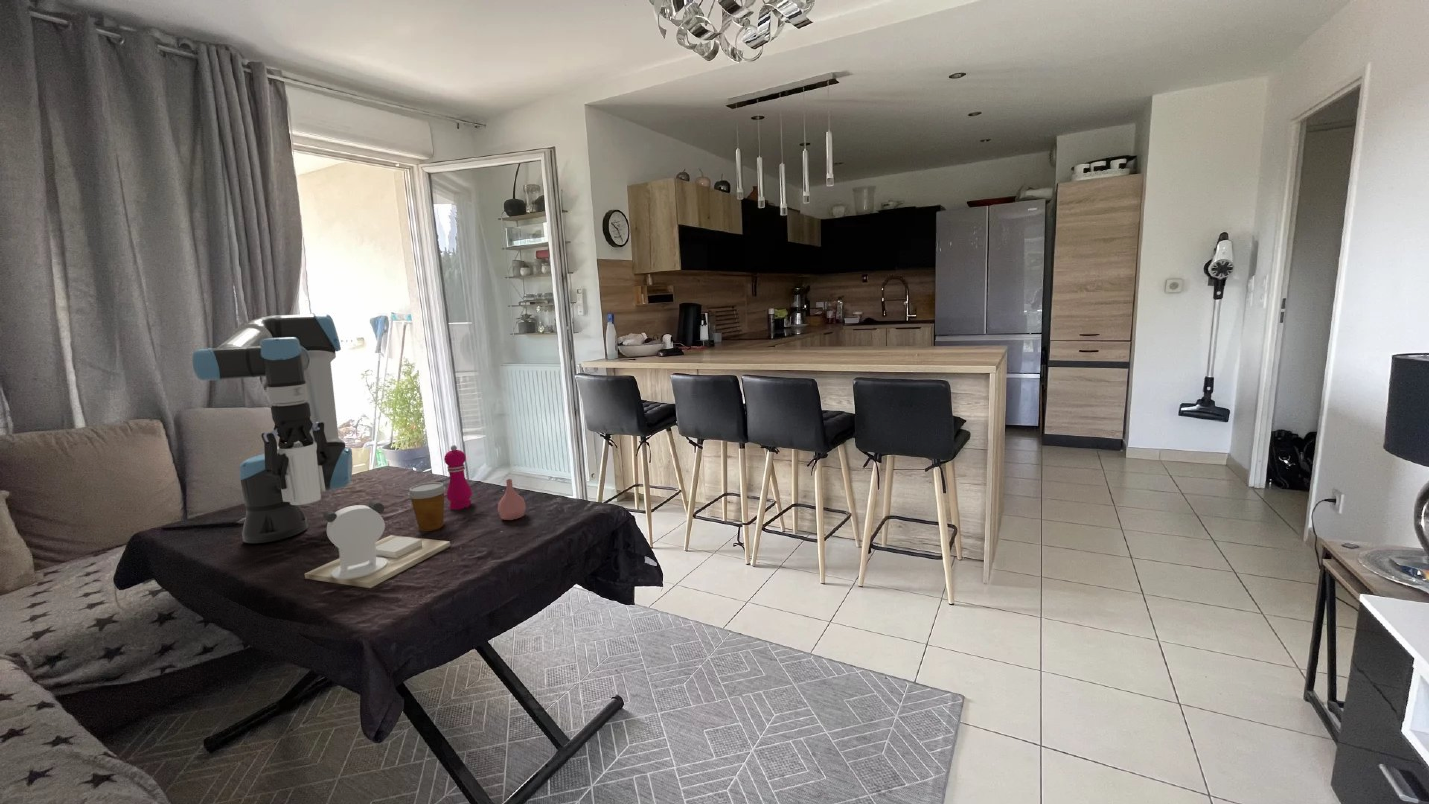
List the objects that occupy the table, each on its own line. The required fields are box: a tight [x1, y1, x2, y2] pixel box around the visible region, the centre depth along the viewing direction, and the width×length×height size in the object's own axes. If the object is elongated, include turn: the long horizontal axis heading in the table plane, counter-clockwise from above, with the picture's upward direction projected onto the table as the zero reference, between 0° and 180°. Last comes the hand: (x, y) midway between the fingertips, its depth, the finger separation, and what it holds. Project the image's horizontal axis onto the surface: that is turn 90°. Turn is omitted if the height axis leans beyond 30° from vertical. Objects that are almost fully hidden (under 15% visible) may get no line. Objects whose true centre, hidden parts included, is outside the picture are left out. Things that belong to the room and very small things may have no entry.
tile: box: [376, 536, 423, 558], centre depth 148 cm, size 2×8×8 cm
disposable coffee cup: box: [407, 481, 446, 532], centre depth 167 cm, size 10×10×12 cm
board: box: [304, 534, 451, 589], centre depth 145 cm, size 20×24×1 cm
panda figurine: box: [323, 499, 388, 579], centre depth 138 cm, size 12×11×15 cm
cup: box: [277, 441, 322, 506], centre depth 142 cm, size 8×8×14 cm
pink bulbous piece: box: [497, 478, 527, 521], centre depth 170 cm, size 8×8×12 cm
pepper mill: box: [444, 444, 473, 510], centre depth 182 cm, size 7×7×20 cm
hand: (304, 495), depth 143 cm, fingers closed on cup, 7 cm apart
